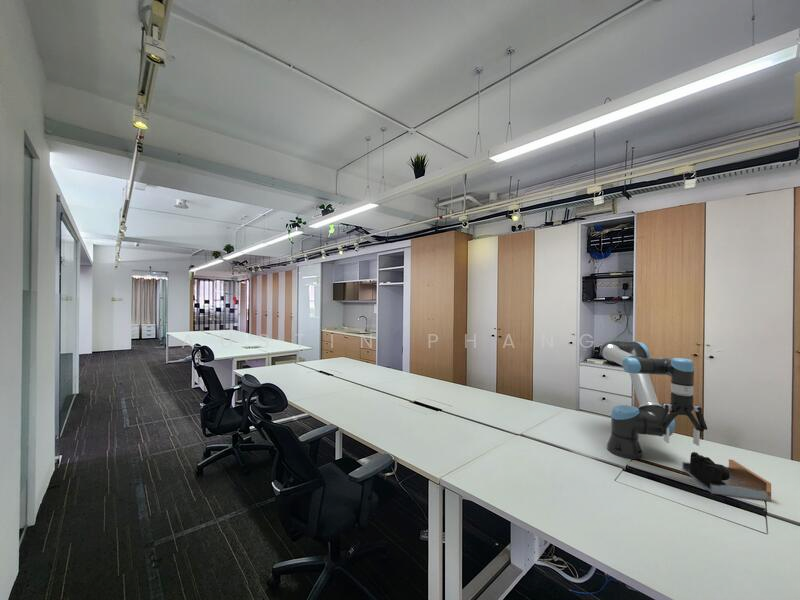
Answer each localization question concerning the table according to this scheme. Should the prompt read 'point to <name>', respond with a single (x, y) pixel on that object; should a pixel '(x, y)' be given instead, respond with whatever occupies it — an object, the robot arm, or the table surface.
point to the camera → (707, 469)
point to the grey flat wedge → (737, 483)
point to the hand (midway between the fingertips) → (681, 443)
